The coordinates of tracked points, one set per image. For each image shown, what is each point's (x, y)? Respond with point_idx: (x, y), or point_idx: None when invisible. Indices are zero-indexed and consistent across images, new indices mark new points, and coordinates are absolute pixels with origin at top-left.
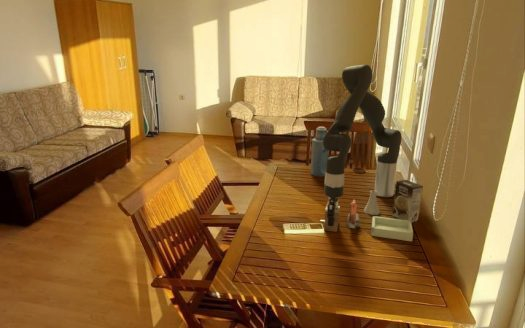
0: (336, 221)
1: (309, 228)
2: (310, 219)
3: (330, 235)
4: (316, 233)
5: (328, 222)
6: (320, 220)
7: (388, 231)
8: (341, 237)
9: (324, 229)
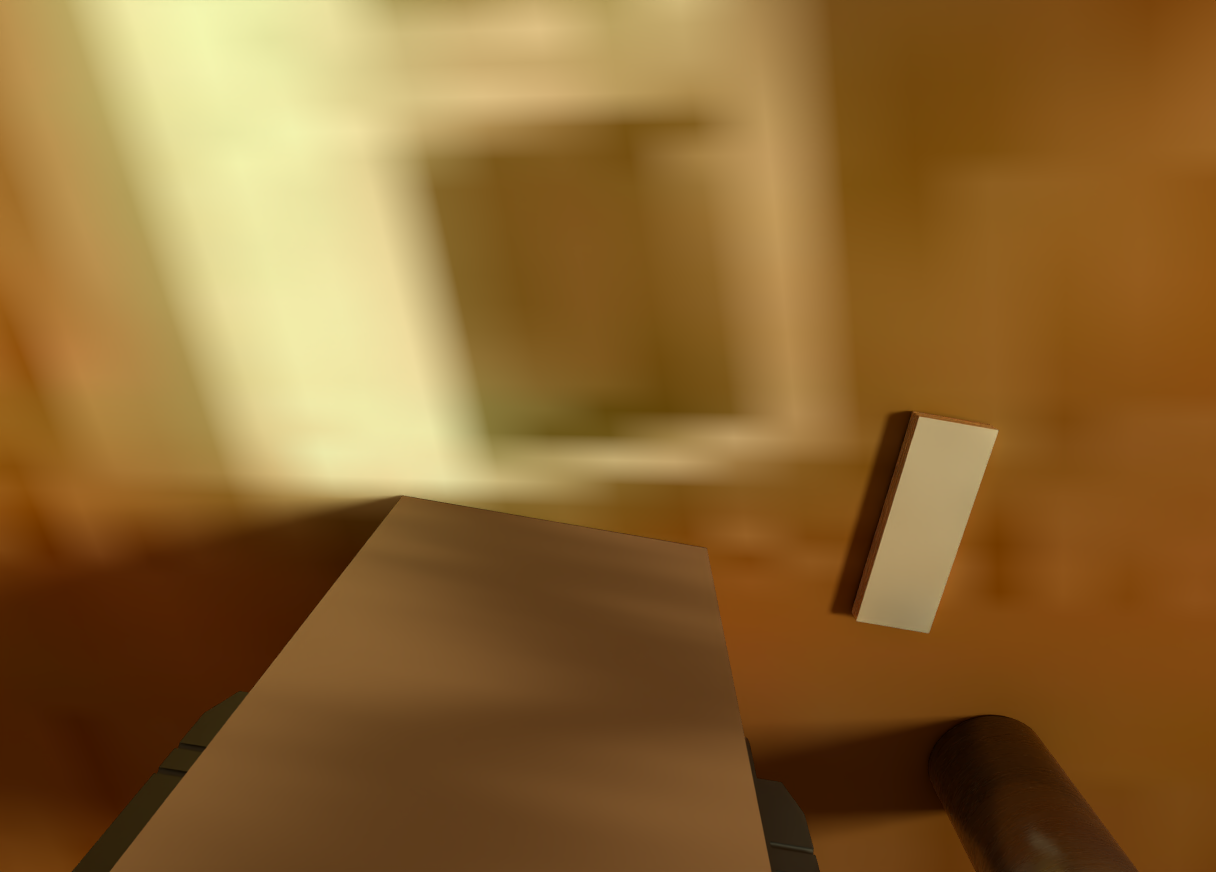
0: None
1: (402, 101)
2: (1053, 119)
3: (163, 619)
4: (154, 304)
5: None
6: (942, 424)
7: None
8: None
9: (398, 509)
